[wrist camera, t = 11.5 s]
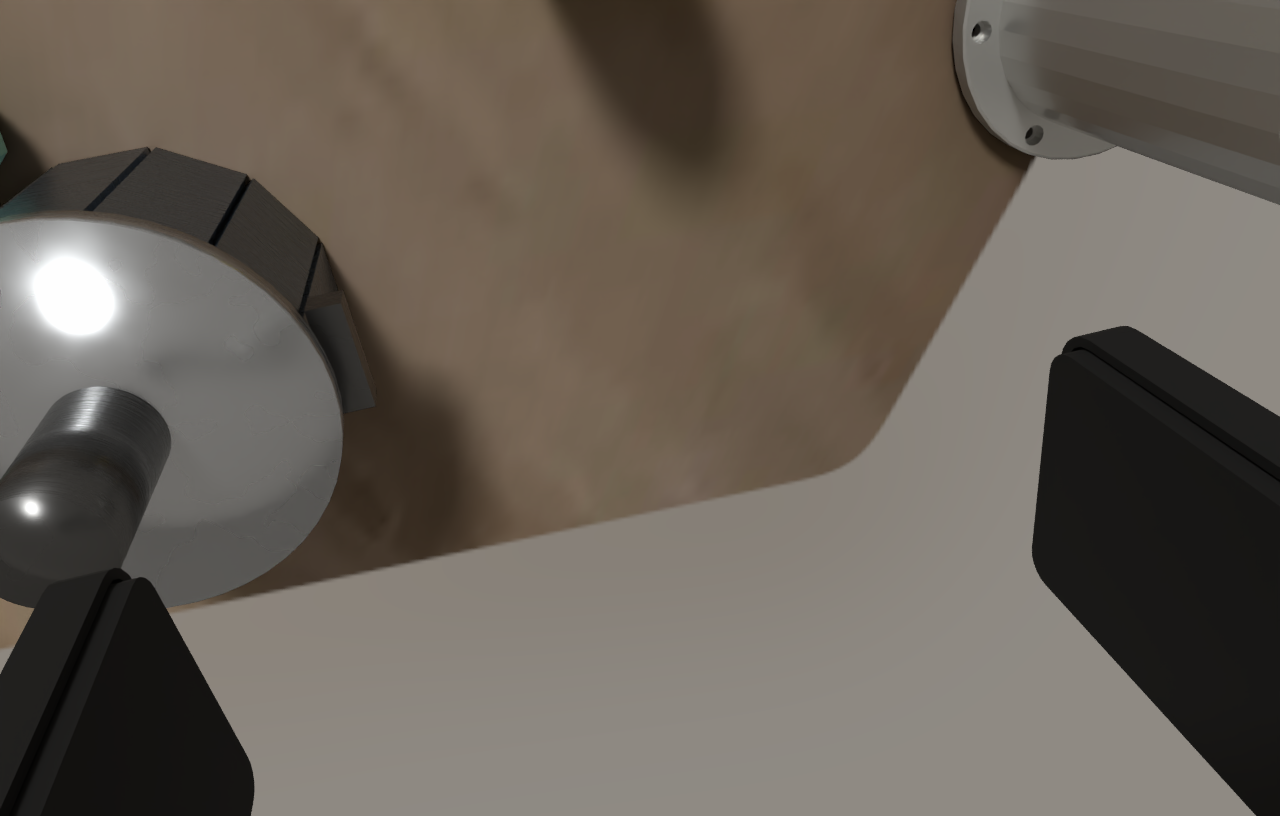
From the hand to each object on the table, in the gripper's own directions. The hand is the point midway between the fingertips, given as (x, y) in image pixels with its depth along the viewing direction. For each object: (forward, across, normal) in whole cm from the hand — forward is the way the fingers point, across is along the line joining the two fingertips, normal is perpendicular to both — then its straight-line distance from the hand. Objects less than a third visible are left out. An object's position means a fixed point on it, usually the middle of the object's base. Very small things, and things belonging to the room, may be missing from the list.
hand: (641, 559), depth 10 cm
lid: (+21, +14, +7) cm, 26 cm away
